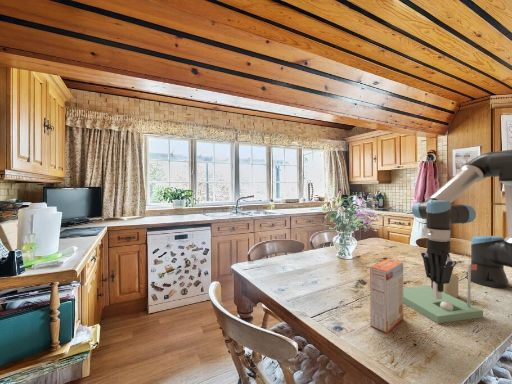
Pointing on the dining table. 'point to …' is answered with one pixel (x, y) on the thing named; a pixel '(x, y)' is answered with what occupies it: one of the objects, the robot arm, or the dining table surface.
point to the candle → (452, 286)
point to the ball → (446, 306)
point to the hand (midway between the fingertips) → (437, 298)
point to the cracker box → (386, 294)
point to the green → (431, 308)
